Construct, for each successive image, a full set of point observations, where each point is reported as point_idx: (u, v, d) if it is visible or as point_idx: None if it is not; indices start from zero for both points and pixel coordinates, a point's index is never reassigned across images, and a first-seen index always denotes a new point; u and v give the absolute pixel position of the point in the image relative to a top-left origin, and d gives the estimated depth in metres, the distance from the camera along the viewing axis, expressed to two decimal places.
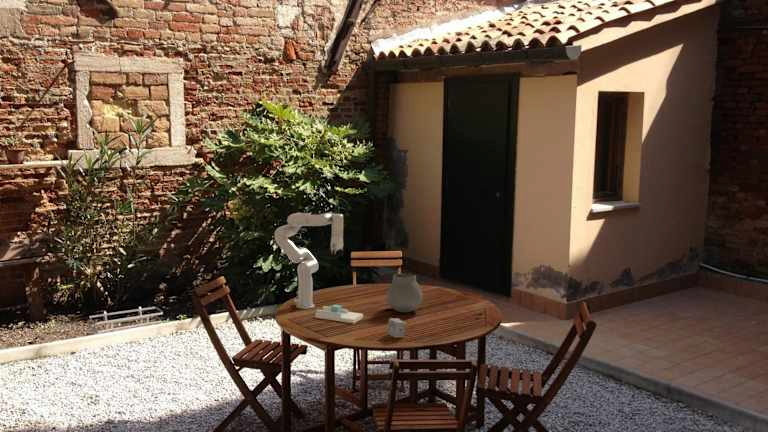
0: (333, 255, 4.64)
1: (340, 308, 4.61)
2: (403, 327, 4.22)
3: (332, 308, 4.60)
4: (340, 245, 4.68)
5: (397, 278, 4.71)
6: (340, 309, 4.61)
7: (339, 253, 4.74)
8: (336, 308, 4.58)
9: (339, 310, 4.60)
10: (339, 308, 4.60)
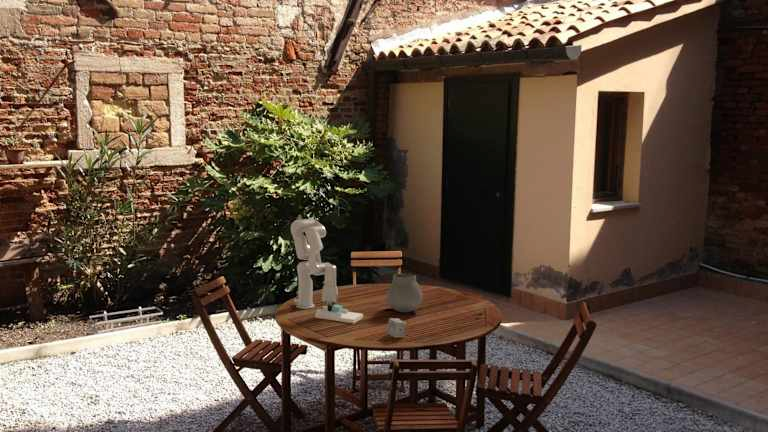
0: None
1: (341, 308, 4.61)
2: (403, 327, 4.22)
3: (333, 308, 4.59)
4: None
5: (397, 278, 4.71)
6: (341, 309, 4.61)
7: None
8: (337, 308, 4.58)
9: (340, 310, 4.60)
10: (340, 308, 4.60)
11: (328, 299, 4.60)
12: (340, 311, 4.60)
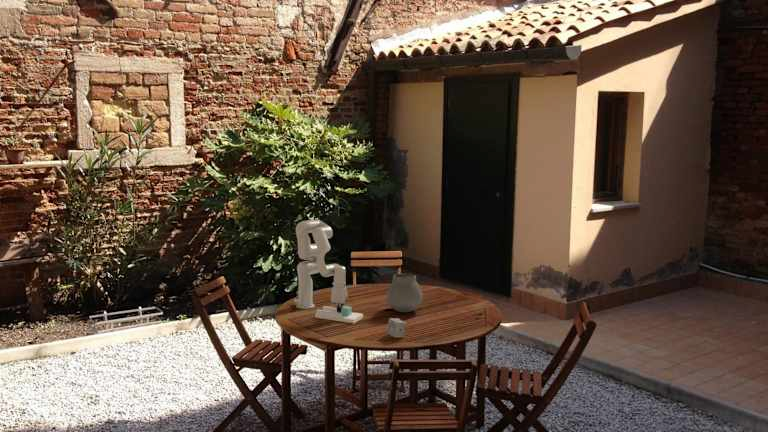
0: None
1: (350, 309, 4.58)
2: (403, 327, 4.22)
3: (342, 309, 4.57)
4: None
5: (397, 278, 4.71)
6: (350, 310, 4.59)
7: None
8: (346, 309, 4.56)
9: (349, 311, 4.57)
10: (349, 309, 4.57)
11: (337, 300, 4.57)
12: (349, 312, 4.58)
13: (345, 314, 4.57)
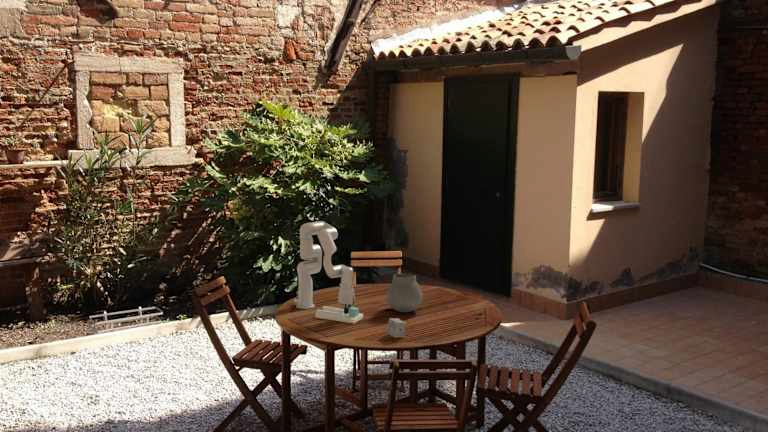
0: (348, 309, 4.58)
1: (357, 310, 4.56)
2: (403, 327, 4.22)
3: (349, 310, 4.55)
4: None
5: (397, 278, 4.71)
6: (357, 311, 4.57)
7: None
8: (353, 310, 4.54)
9: (356, 312, 4.55)
10: (356, 310, 4.55)
11: (345, 301, 4.55)
12: (357, 313, 4.56)
13: (352, 315, 4.55)
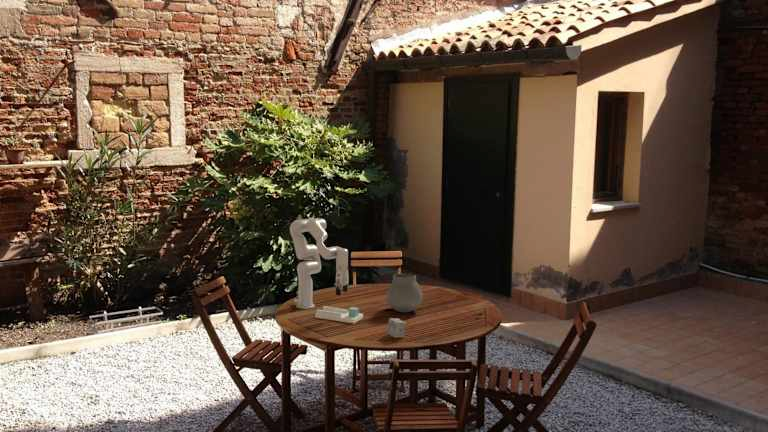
0: None
1: (357, 310, 4.56)
2: (403, 327, 4.22)
3: (349, 310, 4.55)
4: None
5: (397, 278, 4.71)
6: (357, 311, 4.57)
7: None
8: (353, 310, 4.54)
9: (356, 312, 4.55)
10: (356, 310, 4.55)
11: (345, 282, 4.56)
12: (357, 313, 4.56)
13: (352, 315, 4.55)
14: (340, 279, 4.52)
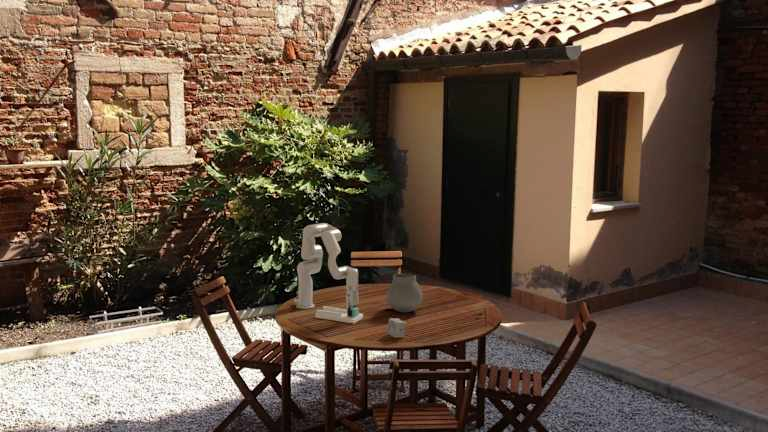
0: None
1: (357, 311, 4.56)
2: (403, 327, 4.22)
3: None
4: None
5: (397, 278, 4.71)
6: (357, 312, 4.56)
7: None
8: (353, 311, 4.54)
9: (356, 313, 4.55)
10: (356, 311, 4.55)
11: (355, 302, 4.55)
12: (357, 314, 4.56)
13: (352, 315, 4.54)
14: (350, 299, 4.51)
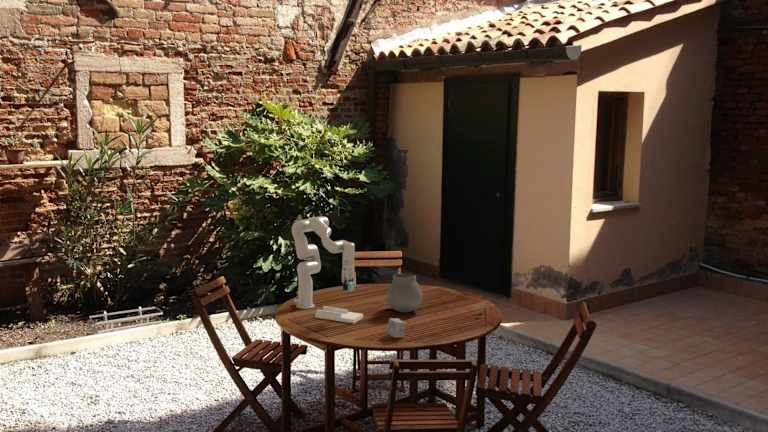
0: None
1: (353, 285, 4.56)
2: (403, 327, 4.22)
3: None
4: None
5: (397, 278, 4.71)
6: (353, 286, 4.56)
7: None
8: (349, 285, 4.54)
9: (352, 287, 4.55)
10: (352, 285, 4.55)
11: (351, 276, 4.55)
12: (352, 288, 4.56)
13: (348, 289, 4.54)
14: (346, 273, 4.50)
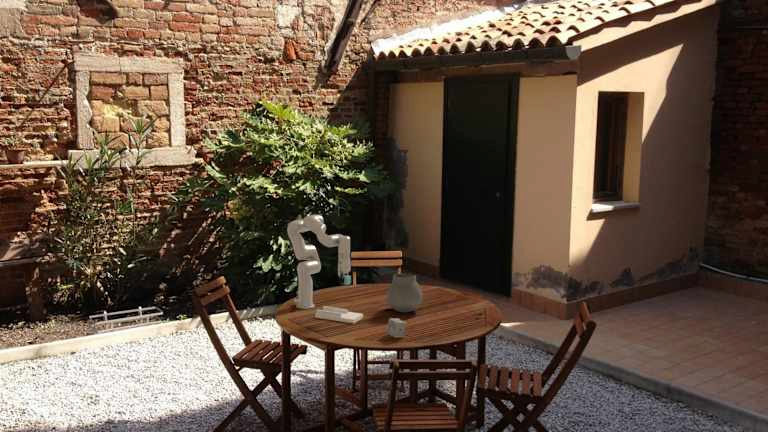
0: None
1: (349, 278, 4.58)
2: (403, 327, 4.22)
3: None
4: None
5: (397, 278, 4.71)
6: (349, 279, 4.58)
7: None
8: (345, 278, 4.55)
9: (348, 280, 4.56)
10: (348, 278, 4.56)
11: (347, 270, 4.57)
12: (349, 281, 4.57)
13: (344, 283, 4.56)
14: (342, 267, 4.52)
